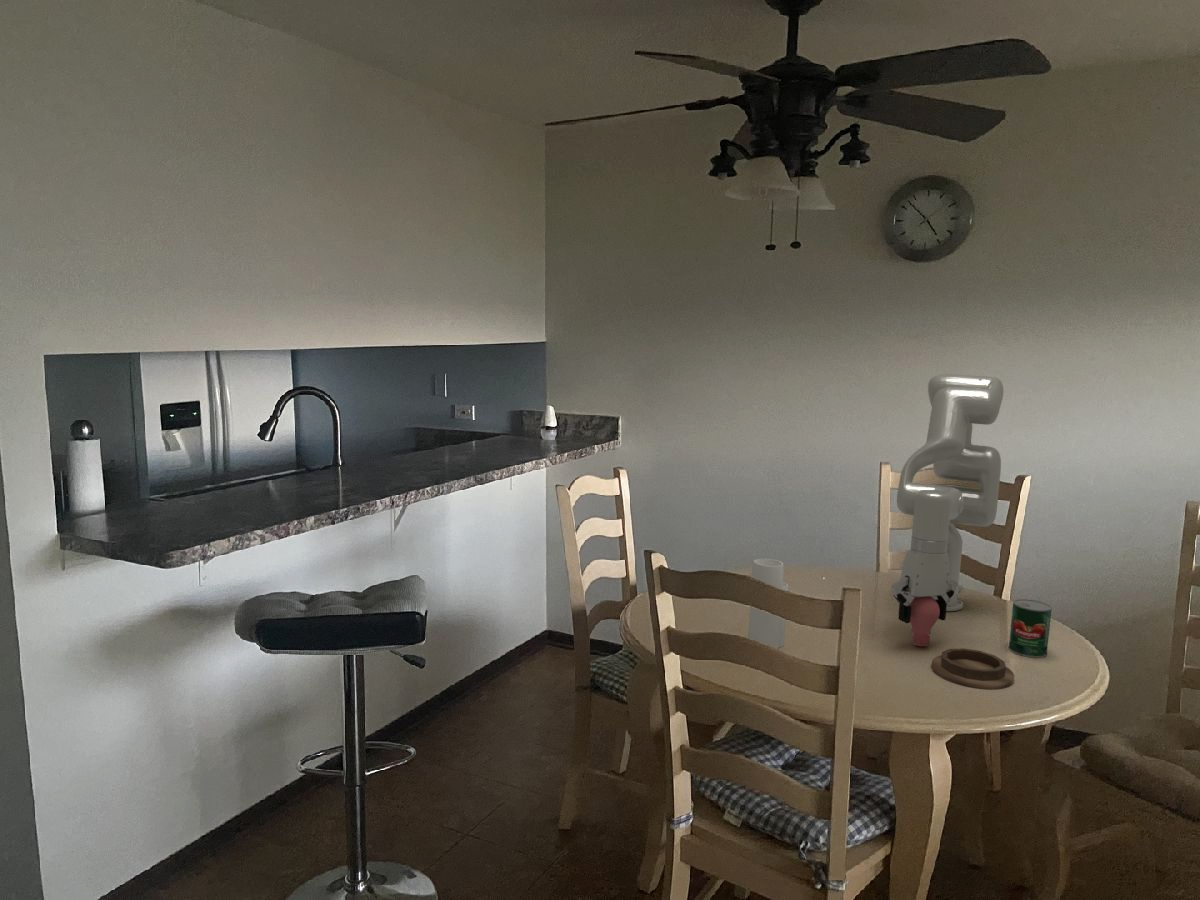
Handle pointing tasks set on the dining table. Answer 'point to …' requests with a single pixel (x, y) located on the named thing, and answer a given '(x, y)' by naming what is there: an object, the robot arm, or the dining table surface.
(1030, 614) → the canned tomato
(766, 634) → the vase
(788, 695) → the dining table surface
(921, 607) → the light bulb
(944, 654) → the holder
